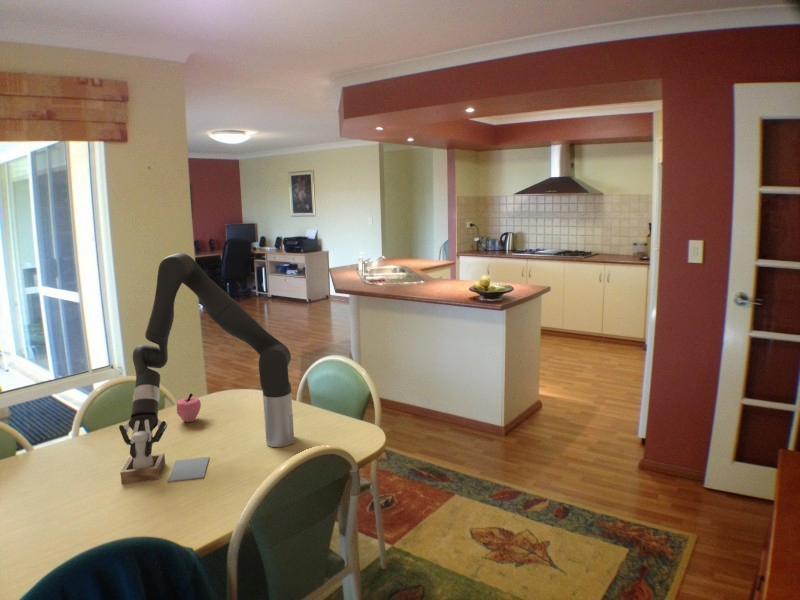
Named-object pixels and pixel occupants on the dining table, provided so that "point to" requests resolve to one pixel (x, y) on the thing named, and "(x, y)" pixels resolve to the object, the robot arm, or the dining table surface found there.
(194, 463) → the rubber mat
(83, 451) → the dining table surface
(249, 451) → the dining table surface
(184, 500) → the dining table surface
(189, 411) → the apple
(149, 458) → the salt shaker
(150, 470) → the pocket block
